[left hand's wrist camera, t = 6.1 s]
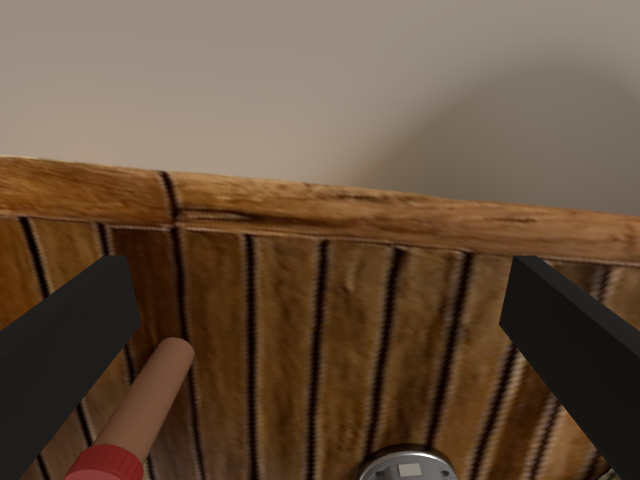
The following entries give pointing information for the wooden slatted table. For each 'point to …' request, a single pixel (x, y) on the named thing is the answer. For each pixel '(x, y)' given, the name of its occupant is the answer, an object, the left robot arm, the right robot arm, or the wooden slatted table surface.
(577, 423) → the left robot arm
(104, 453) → the lid
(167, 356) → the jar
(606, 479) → the fossil
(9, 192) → the wooden slatted table surface
